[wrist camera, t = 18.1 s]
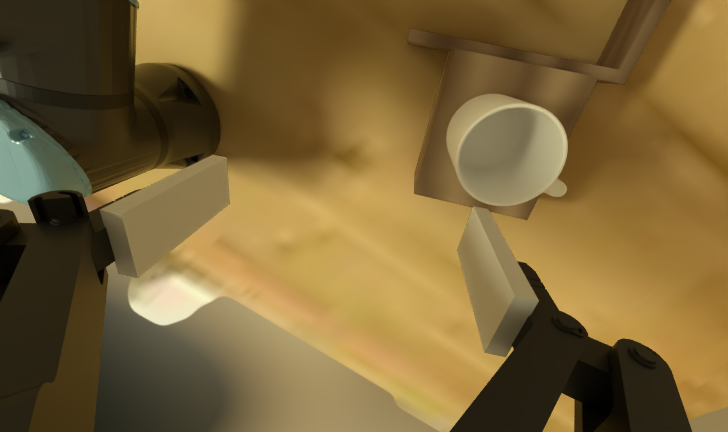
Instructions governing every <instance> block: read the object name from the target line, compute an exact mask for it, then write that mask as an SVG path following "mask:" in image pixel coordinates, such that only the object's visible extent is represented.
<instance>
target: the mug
mask: <svg viewBox="0 0 728 432" xmlns="http://www.w3.org/2000/svg"><path fill="white" fill-rule="evenodd" d="M446 143H447V148H448V152H449V155H450V157H451V160H452V163H453V166H454V169H455V172H456V174H457V177H458V180H459V182H460V184H461V185H462V187H463V188H464V190H465V191H466V192H467V193H468V194H469V195H471V196H472V197H473V198H475V199H477V200H478V201H481V202H483V203H486V204H489V205H495V206H511V205H517V204H521V203H524V202H527V201H529V200H531V199H533V198H535V197H537V196H538V195H540V194H541V193H543V192H544V193H546V194H548V195H550V196H553V197H561V196H563V195H564V194H565V193H566V192H567V187H566V185H565V184H564V183H563V182H562V181H561V180H559V179H558V176H559V175H560V173H561V171H562V169H563V167H564V165H565V162H566V158H567V153H568V141H567V135H566V132H565V129H564V127H563V126H562V124H561V122H560V121H559V120H558V119H557V117H555V116H554V115H553V114H552V113H551V112H549V111H548V110H546V109H544V108H542V107H540V106H537V105H534V104H531V103H528V102H524V101H521V100H518V99H515V98H512V97H509V96H506V95H502V94H484V95H481V96H477V97H475V98H473V99H471V100H469V101H467V102H466V103H465V104H463V105H462V106H461V107H460V108H459V109H458V110H457V111H456V112H455V114H454V115H453V117H452V119H451V121H450V123H449V125H448V129H447V135H446Z"/></svg>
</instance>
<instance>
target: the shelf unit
mask: <svg viewBox="0 0 728 432" xmlns="http://www.w3.org/2000/svg"><path fill="white" fill-rule="evenodd" d="M669 2H670V0H628V1H627V3H626V5H625V7H624V9H623V11H622V14H621V16H620V18H619V20H618V22H617V24H616V26H615V28H614V30H613V32H612V34H611V36H610V38H609V40H608V42H607V44H606V46H605V48H604V50H603V52H602V54H601V56H600V58H599V60H598V62H597V64H596V65H593V64H588V63H583V62H578V61H573V60H568V59H563V58H557V57H552V56H547V55H542V54H537V53H532V52H527V51H522V50H517V49H512V48H507V47H502V46H497V45H492V44H487V43H482V42H477V41H472V40H467V39H462V38H456V37H451V36H446V35H441V34H436V33H431V32H426V31H421V30H416V29H411V28H410V29H409V34H408V39H407V42H408V44H410V45H415V46H420V47H425V48H430V49H435V50H440V51H445V52H448V55H447V58H446V62H445V66H444V69H443V73H442V76H441V80H440V84H439V87H438V91H437V95H436V98H435V102H434V105H433V109H432V113H431V116H430V120H429V124H428V127H427V131H426V134H425V138H424V142H423V145H422V149H421V153H420V156H419V160H418V163H417V167H416V171H415V180H414V194H417V195H421V196H426V197H430V198H434V199H439V200H443V201H447V202H452V203H456V204H460V205H464V206H469V207H473V206H475V207H480V208H485V209H488V210H489V211H490V212H495V213H499V214H503V215H508V216H512V217H516V218H520V219H525V220H527V219H528V217H529V215H530V213H531V211H532V209H533V207H534V205H535V203H536V201H537V199H538V197H539V195H538V196H537V197H535V198H533V199H531V200H529V201H527V202H524V203H521V204H517V205H511V206H495V205H489V204H486V203H483V202H481V201H478V200H477V199H475V198H473V197H472V196H471V195H469V194H468V193H467V192H466V191H465V190H464V188H463V187H462V185H461V184H460V182H459V180H458V177H457V174H456V172H455V169H454V166H453V163H452V160H451V157H450V155H449V152H448V148H447V143H446V135H447V129H448V125H449V123H450V121H451V119H452V117H453V115H454V114H455V112H456V111H457V110H458V109H459V108H460V107H461V106H462V105H463V104H465V103H466V102H467V101H469V100H471V99H473V98H475V97H477V96H481V95H484V94H502V95H506V96H509V97H512V98H515V99H518V100H521V101H524V102H528V103H531V104H534V105H537V106H540V107H542V108H544V109H546V110H548V111H549V112H551V113H552V114H553V115H554V116H555V117H557V119H558V120H559V121H560V122H561V124H562V126H563V127H564V129H565V132H566V135H567V140H568V138H569V136H570V134H571V132H572V130H573V128H574V126H575V124H576V122H577V120H578V118H579V116H580V114H581V112H582V110H583V108H584V106H585V104H586V102H587V100H588V98H589V96H590V94H591V92H592V90H593V88H594V86H595V84H596V82H600V83H611V84H623V85H625V83H626V81H627V79H628V77H629V75H630V74H631V72H632V70H633V68H634V66H635V64H636V63H637V61H638V59H639V57H640V55H641V53H642V52H643V50H644V48H645V46H646V44H647V42H648V41H649V39H650V37H651V35H652V33H653V31H654V30H655V28H656V26H657V24H658V22H659V20H660V19H661V17H662V15H663V13H664V11H665V9H666V8H667V6H668V4H669Z"/></svg>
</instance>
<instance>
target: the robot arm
mask: <svg viewBox="0 0 728 432" xmlns="http://www.w3.org/2000/svg"><path fill="white" fill-rule="evenodd" d="M137 8H139V3H138V1H137V0H0V194H1V195H3V196H4V197H7V198H9V199H11V200H14V201H17V202H19V203H22V204H26V205H29V206H30V209H31V211H32V213H33V216H34V218H35V221H36V223H18V221H17V219H16V216H15V214H14V213H13V211H10V210H5V209H4V210H3V209H0V432H93V431H94V420H95V410H96V399H97V389H98V377H99V367H100V356H101V346H102V336H103V325H104V315H105V304H106V293H107V283H108V273H107V270H106V267H107V266H108V265H110V264H111V263H113V262H114V261H115V263H116V266H117V270H118V273H119V274H122V275H127V276H131V277H136V278H138V277H140V276H141V275H142V274H143V273H145V272H146V271H147V270H148V269H150V268H151V267H152V266H153V265H155V264H156V263H157V262H158V261H159V260H161V259H162V258H163V257H164V256H166V255H167V254H168V253H169V252H171V251H172V250H173V249H174V248H176V247H177V246H178V245H179V244H181V243H182V242H183V241H184V240H185V239H187V238H188V237H189V236H190V235H192V234H193V233H194V232H195V231H197V230H198V229H199V228H200V227H202V226H203V225H204V224H205V223H207V222H208V221H209V220H210V219H211V218H213V217H214V216H215V215H216V214H218V213H219V212H220V211H221V210H223V209H224V208H225V207H226V206H228V205H229V204H230V200H229V184H228V168H227V157H222V156H217V155H213V153H214V152H215V150H216V148H217V146H218V143H219V139H220V122H219V117H218V113H217V110H216V108H215V105H214V103H213V101H212V99H211V97H210V96H209V94H208V93H207V91H206V90H205V89H204V87H203V86H202V85H201V84H200V83H199V82H198V81H197V80H196V79H195V78H194V77H193V76H191V75H190V74H189V73H187V72H186V71H184V70H182V69H181V68H178V67H176V66H173V65H170V64H165V63H143V64H138V65H135V55H136V24H137ZM184 168H185V169H184ZM152 169H182V170H180V171H178V172H176V173H174V174H172V175H170V176H168V177H166V178H164V179H162V180H160V181H158V182H156V183H154V184H151V185H149V186H147V187H145V188H143V189H139V190H135V191H133V192H131V193H129V194H126V195H124V197H120V198H118V199H116V200H115V201H112V202H110V203H108V204H105V205H103V206H101V207H99V208H97V209H95V210H93V211H91V212H89V213H88V210H87V207H86V204H85V201H84V198H85V197H87V196H89V195H91V194H93V193H96V192H98V191H101V190H103V189H105V188H108V187H110V186H113V185H115V184H118V183H120V182H123V181H125V180H127V179H130V178H132V177H135V176H137V175H140V174H142V173H145V172H147V171H149V170H152ZM457 252H458V256H459V259H460V263H461V267H462V271H463V274H464V278H465V282H466V285H467V289H468V293H469V297H470V300H471V304H472V308H473V312H474V315H475V319H476V323H477V326H478V330H479V334H480V338H481V341H482V345H483V349H484V353H489V354H493V355H498V356H503V357H506V356H507V354H508V352H509V351H510V349H511V347H512V346H513V348H514V350H513V352H512V353H511V354H510V356H509V357H508V358H507V359H506V361H505V362H504V363H503V364H502V366H501V367H500V368H499V370H498V371H497V372H496V373H495V375H494V376H493V377H492V378H491V380H490V381H489V382H488V383H487V385H486V386H485V387H484V389H483V390H482V391H481V392H480V394H479V395H478V396H477V397H476V399H475V400H474V401H473V403H472V404H471V405H470V406H469V408H468V409H467V410H466V411H465V413H464V414H463V415H462V417H461V418H460V419H459V420H458V422H457V423H456V424H455V425H454V427H453V428H452V429H451V431H450V432H542V431H543V429H544V427H545V425H546V423H547V421H548V419H549V417H550V415H551V413H552V411H553V409H554V407H555V405H556V403H557V401H558V399H559V397H560V395H561V393H563V394H565V395H567V396H569V397H571V398H573V399H575V423H574V432H692V430H691V427H690V424H689V421H688V418H687V415H686V412H685V409H684V406H683V403H682V401H681V398H680V395H679V392H678V389H677V386H676V383H675V380H674V377H673V374H672V371H671V369H670V368H669V366H668V364H667V363H666V362H665V361H664V360H663V359H662V358H661V357H660V356H659V355H658V354H657V353H656V352H655V351H653V350H652V349H650V348H649V347H646V346H644V345H642V344H641V343H638V342H636V341H633V340H630V339H620V340H618V341H617V342H616V344H615V345H614V346H613V347H611V346H609V345H606V344H604V343H602V342H599V341H597V340H595V339H592V338H590V337H588V333H587V331H586V329H585V328H584V327H583V326H582V325H581V323H580V322H579V321H577V320H576V319H574V318H573V317H572V316H570V315H568V314H566V313H564V312H561V311H559V309H558V308H557V306H556V305H555V303H554V301H553V300H552V298H551V296H550V295H549V293H548V292H547V290H546V289H545V287H544V285H543V283H542V282H540V281H541V280H540V278H539V277H538V275H537V274H536V272H535V271H534V270H533V269H532V268H531V267H530V266H528V265H527V264H526V263H523V262H518V261H517V260H516V258H515V257H514V255H513V253H512V251H511V249H510V248H509V246H508V244H507V242H506V240H505V239H504V237H503V235H502V233H501V231H500V230H499V228H498V226H497V224H496V222H495V221H494V219H493V217H492V215H491V213H490V211H489V210H488V209H485V208H480V207H475V206H473V209H472V211H471V214H470V217H469V219H468V222H467V225H466V227H465V230H464V233H463V235H462V238H461V241H460V243H459V246H458V249H457Z"/></svg>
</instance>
